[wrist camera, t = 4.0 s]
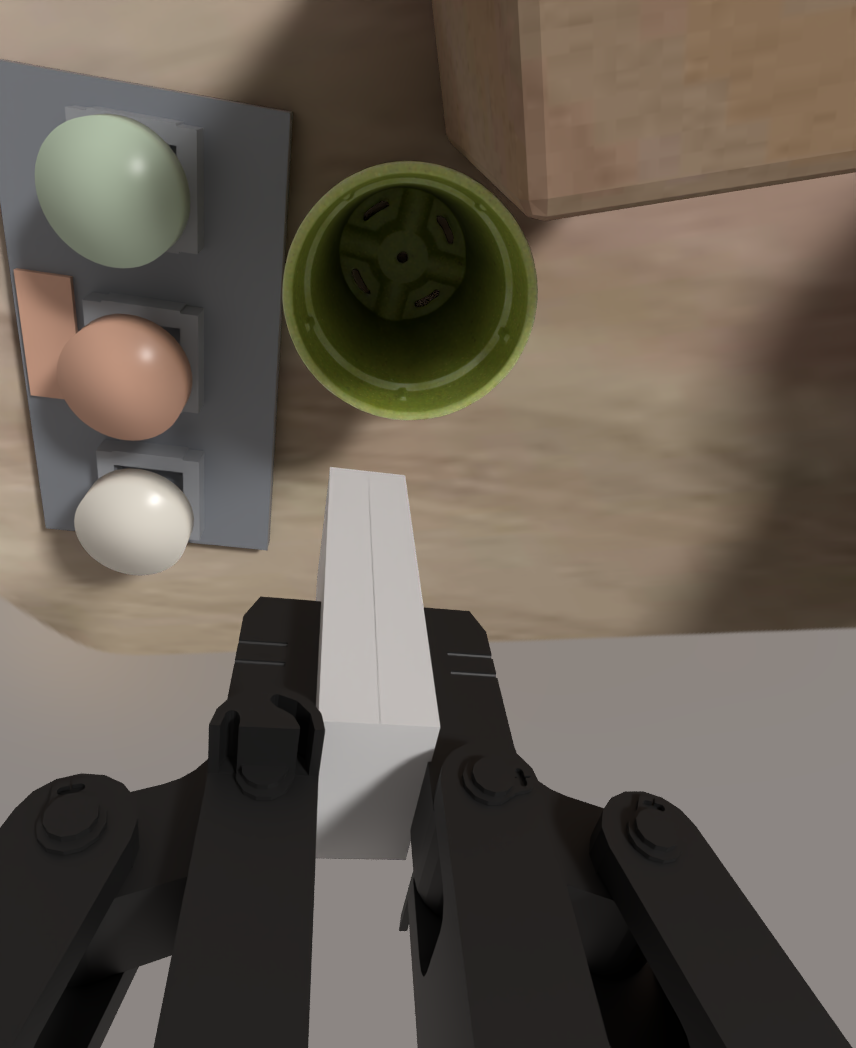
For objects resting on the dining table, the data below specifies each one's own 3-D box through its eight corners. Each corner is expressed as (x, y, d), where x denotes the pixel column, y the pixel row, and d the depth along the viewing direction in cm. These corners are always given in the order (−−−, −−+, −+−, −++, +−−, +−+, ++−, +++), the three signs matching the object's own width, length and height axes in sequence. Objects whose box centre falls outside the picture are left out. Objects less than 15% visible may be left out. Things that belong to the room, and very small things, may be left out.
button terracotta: (77, 296, 31) (50, 316, 29) (198, 313, 32) (183, 334, 30) (87, 406, 34) (63, 433, 31) (199, 419, 35) (185, 447, 32)
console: (-9, 57, 29) (-37, 56, 27) (292, 111, 30) (286, 114, 28) (53, 518, 40) (36, 541, 38) (269, 540, 42) (264, 563, 40)
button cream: (91, 449, 35) (68, 478, 33) (199, 461, 36) (185, 491, 33) (99, 536, 38) (79, 569, 35) (200, 546, 39) (187, 579, 36)
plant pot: (436, 93, 30) (455, 100, 23) (537, 284, 35) (579, 341, 27) (262, 220, 33) (227, 263, 25) (377, 384, 37) (377, 461, 30)
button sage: (58, 100, 27) (25, 103, 25) (197, 125, 28) (179, 130, 26) (71, 241, 30) (43, 257, 28) (198, 261, 31) (182, 277, 28)
